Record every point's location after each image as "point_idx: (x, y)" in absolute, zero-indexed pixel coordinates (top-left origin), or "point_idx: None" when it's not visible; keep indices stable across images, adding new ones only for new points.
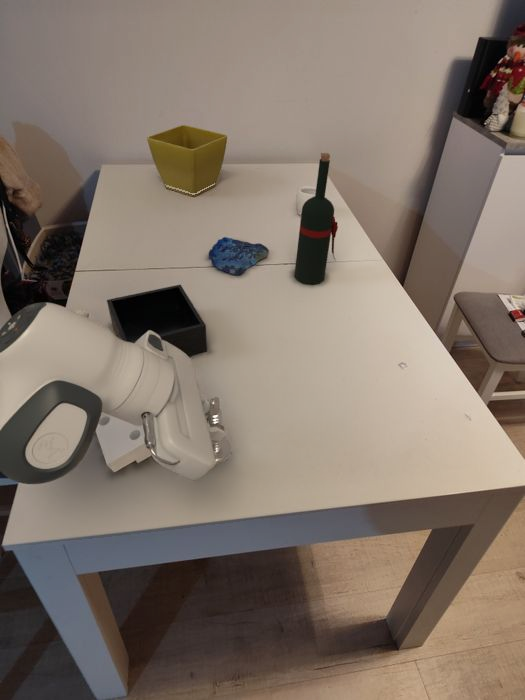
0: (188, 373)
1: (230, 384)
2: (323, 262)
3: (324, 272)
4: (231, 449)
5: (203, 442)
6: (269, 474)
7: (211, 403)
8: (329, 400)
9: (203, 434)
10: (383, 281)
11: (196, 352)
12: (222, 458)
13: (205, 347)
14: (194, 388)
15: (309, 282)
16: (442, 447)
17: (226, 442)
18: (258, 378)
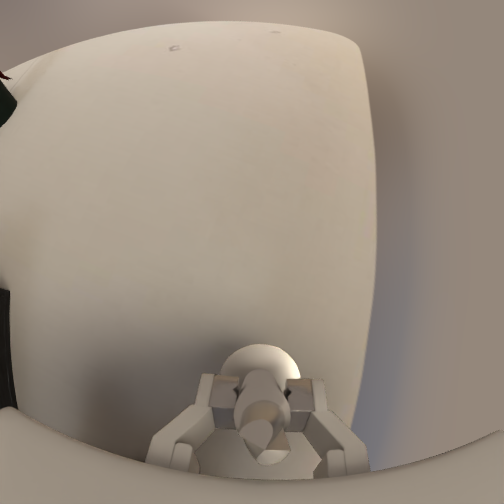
0: (64, 482)
1: (75, 277)
2: (2, 87)
3: (10, 94)
4: (274, 346)
5: (481, 482)
6: (304, 276)
7: (280, 459)
8: (183, 127)
9: (449, 489)
10: (62, 51)
11: (6, 310)
12: (294, 373)
13: (2, 291)
14: (153, 499)
15: (7, 115)
16: (310, 59)
17: (253, 354)
18: (84, 222)
